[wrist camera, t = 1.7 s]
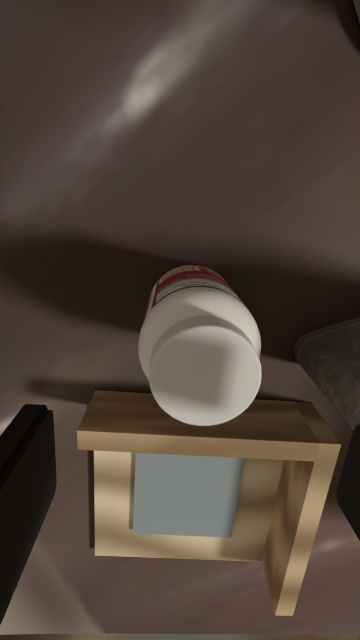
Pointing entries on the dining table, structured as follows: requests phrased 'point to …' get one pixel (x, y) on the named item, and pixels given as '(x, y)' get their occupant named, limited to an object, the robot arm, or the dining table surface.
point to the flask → (334, 365)
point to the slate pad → (186, 494)
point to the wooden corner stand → (255, 488)
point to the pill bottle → (199, 347)
